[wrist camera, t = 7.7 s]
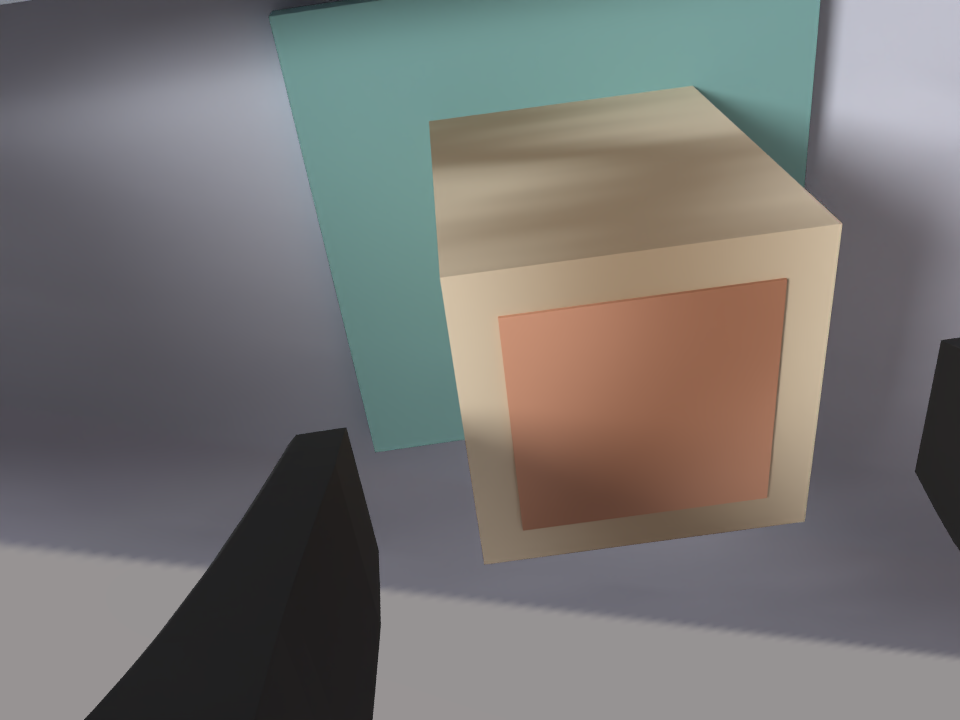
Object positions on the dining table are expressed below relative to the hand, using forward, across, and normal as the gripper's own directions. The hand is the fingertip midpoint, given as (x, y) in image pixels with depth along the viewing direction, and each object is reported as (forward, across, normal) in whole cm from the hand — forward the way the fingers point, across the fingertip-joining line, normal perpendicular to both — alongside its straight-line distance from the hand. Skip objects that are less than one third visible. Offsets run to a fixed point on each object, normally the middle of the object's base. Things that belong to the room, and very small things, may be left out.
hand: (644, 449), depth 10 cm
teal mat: (+7, 0, 0) cm, 7 cm away
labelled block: (+7, 0, 0) cm, 7 cm away
